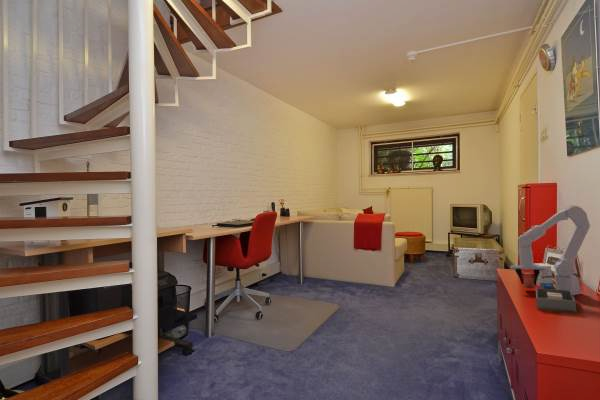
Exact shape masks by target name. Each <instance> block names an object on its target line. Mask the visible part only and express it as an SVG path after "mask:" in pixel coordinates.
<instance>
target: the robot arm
mask: <svg viewBox="0 0 600 400" xmlns="http://www.w3.org/2000/svg"><path fill="white" fill-rule="evenodd" d="M569 219H570V220H571V221H572V222H573V224H574V225H575V228H574V229H573V232H572V233H571V235H570V238H569V241H568V242H567V245H566V246H565V248H564V251H563V252H562V255H561V256H560V258H559V259H558V260H557V261H556V262H554V264H553V267H554V270H555V271H556V272H555V273H554V283H555V289H557V290H571V291H572V294H573V296H576V295H581V294H583V292H581V289H580V280H579V278H578V277H577V276H576V275H574V274H573V266H574V262H575V259H576V257H577V255H578V253H579V251H580V249H581V247H582V245H583V242H584V241H585V238H586V236H587V234H588V233H589V229H590V227H591V223H590V221H589V219H588V214H587V211H585V210H584V208H582V207H580V206H577V205H568V206H567V207H565V208H563V209H561V210H559V211H558V212H556V213H554V215H552V216H551V217H550V218H548V219H547V220H546V221H545V222H543V223H541V224H539V225H538V224H537V225H532V226H530V229H529V230H527V231H526V232H522V234H521V235H519V236H518V237H517V243H518V256H519V265H510V270H511V271H513V270H515V273H516V274H517V276H518V278H519V280H520V283H521V285H523V278H522V273H523V272H522V271H533V274H534V283H535V286H537V285H536V282H537V278H538V275H539V273H540V271H545V268H544V267H541V266H534V257H533V256H534V255H533V249H532V243H533V242H535V241H537V240H538V239H540V238H542V237H543V236H544V235H546V231H547V230H548V229H550V228H552V227H553V226H554V225H556V224H558V223H559V222H561V221H568V220H569Z"/></svg>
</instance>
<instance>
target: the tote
mask: <svg viewBox="0 0 600 400" xmlns="http://www.w3.org/2000/svg"><path fill="white" fill-rule="evenodd" d="M547 292H551V293H561V294H562V300H559V299H548V296H547ZM574 296H575V295H573V294H572V291H571V290H557V289H556V288H543V287H535V300H536V301H535V302H536V309H537V310H541V311H543V310H544V311H549V312H550V311H551V312H561V313H562V312H563V313H568V314H569V313H572V314H577V305H576V304H577V303H576V299H575V297H574Z"/></svg>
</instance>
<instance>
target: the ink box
mask: <svg viewBox="0 0 600 400" xmlns="http://www.w3.org/2000/svg"><path fill="white" fill-rule="evenodd" d="M533 264H534V266H541V267H544V268H545V271H540V273H539V275H538V278H537V282H536V285H535V286H538V287H540V288H543V289H554V282H553V281H554V280H553V274H552V265H549V264H546V263H542V262H540V263H536V262H535V263H534V262H533Z"/></svg>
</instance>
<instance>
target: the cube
mask: <svg viewBox="0 0 600 400" xmlns="http://www.w3.org/2000/svg"><path fill="white" fill-rule="evenodd" d="M547 296H548V299H559V300H562V294H561V293H551V292H547Z"/></svg>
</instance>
